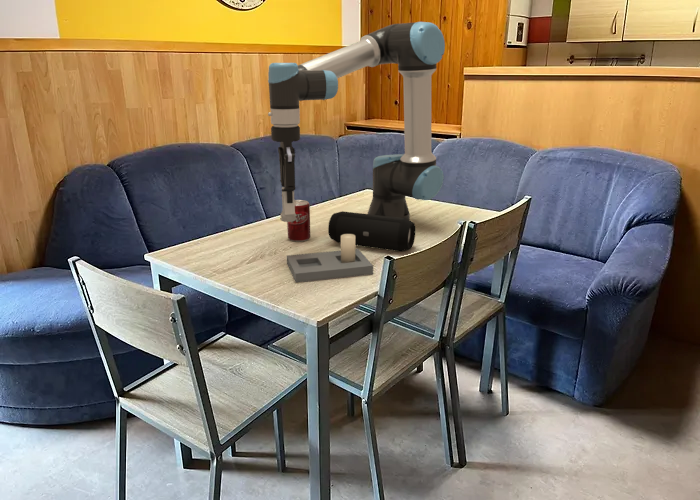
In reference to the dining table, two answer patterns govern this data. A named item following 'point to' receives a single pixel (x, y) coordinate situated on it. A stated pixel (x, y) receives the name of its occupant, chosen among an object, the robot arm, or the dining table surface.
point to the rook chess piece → (287, 217)
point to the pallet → (330, 263)
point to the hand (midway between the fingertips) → (288, 211)
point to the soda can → (300, 222)
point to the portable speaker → (373, 230)
